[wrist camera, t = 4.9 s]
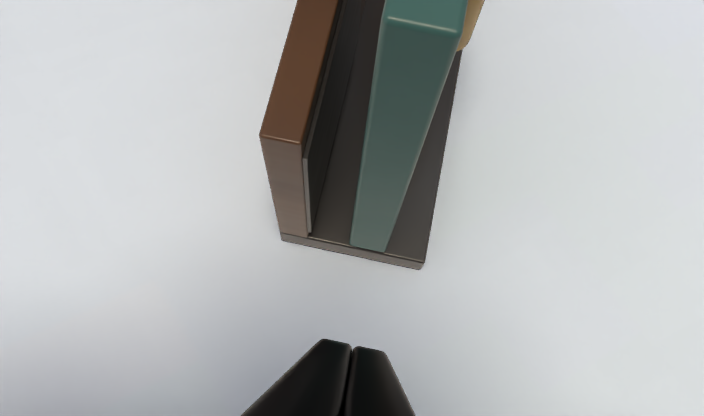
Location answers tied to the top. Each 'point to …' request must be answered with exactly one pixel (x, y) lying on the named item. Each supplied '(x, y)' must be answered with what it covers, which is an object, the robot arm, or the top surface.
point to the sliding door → (404, 105)
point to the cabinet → (340, 133)
